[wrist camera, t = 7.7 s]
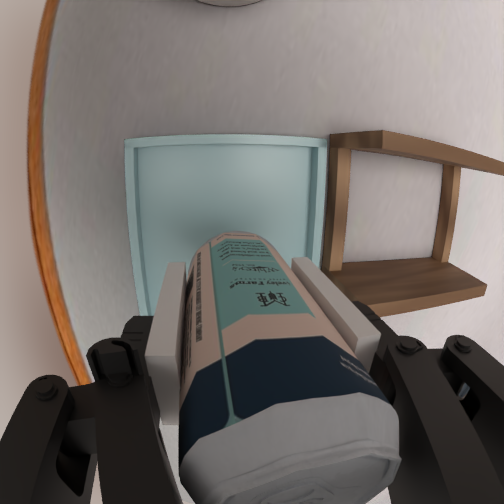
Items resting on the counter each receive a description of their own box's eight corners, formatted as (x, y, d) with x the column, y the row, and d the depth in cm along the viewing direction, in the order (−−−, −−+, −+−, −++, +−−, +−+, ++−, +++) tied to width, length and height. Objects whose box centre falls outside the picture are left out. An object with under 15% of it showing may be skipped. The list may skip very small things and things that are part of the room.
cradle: (330, 134, 20) (382, 130, 13) (450, 155, 22) (507, 163, 15) (320, 275, 24) (361, 320, 17) (436, 266, 26) (484, 295, 19)
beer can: (221, 329, 16) (261, 547, 5) (169, 262, 14) (122, 504, 3) (296, 284, 16) (426, 473, 5) (251, 209, 14) (404, 389, 3)
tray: (130, 140, 18) (124, 139, 16) (317, 139, 20) (327, 139, 18) (147, 323, 22) (143, 335, 21) (305, 314, 24) (312, 325, 23)
